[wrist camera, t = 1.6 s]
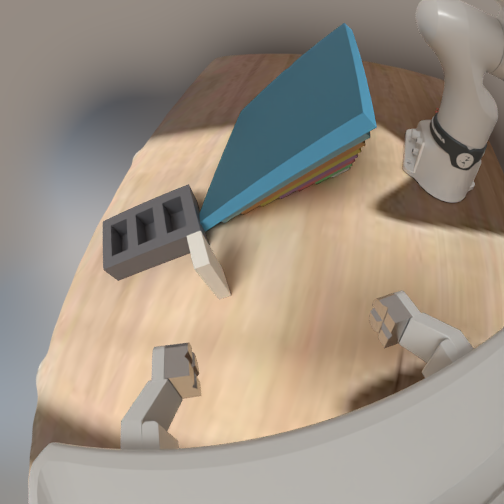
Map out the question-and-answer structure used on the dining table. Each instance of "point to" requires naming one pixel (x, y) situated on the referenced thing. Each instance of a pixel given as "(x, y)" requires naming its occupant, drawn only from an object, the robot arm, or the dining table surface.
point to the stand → (150, 233)
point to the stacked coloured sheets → (295, 131)
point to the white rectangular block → (207, 265)
